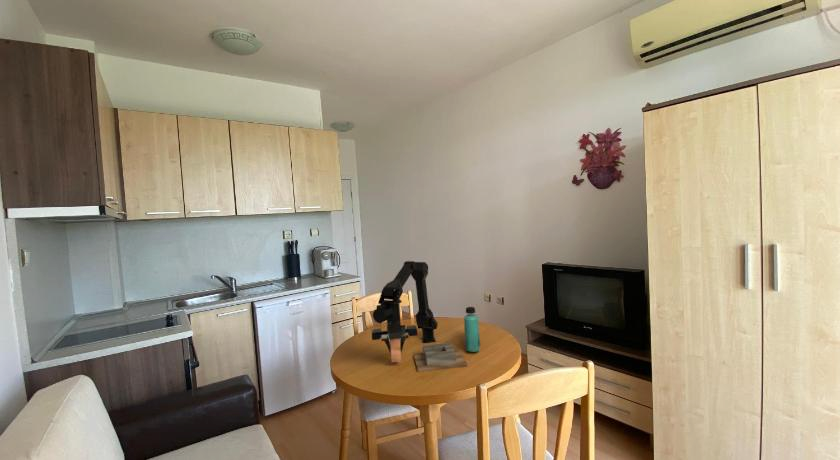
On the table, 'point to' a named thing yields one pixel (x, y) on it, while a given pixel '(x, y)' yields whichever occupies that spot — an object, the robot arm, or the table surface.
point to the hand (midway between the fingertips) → (395, 352)
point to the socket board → (445, 366)
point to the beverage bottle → (471, 330)
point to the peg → (395, 350)
